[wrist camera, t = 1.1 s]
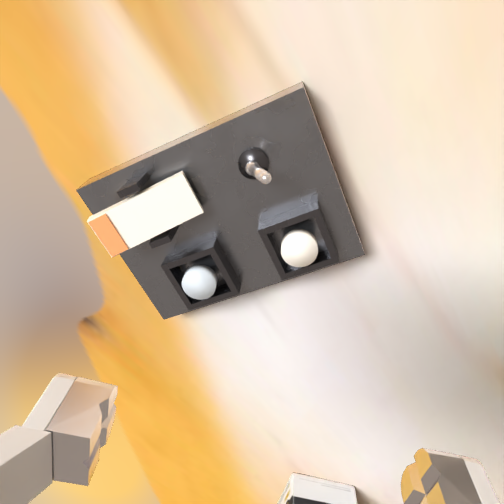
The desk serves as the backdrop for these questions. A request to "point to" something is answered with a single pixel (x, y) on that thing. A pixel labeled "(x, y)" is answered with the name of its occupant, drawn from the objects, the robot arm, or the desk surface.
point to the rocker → (146, 214)
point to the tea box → (316, 491)
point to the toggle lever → (258, 172)
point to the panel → (237, 202)
